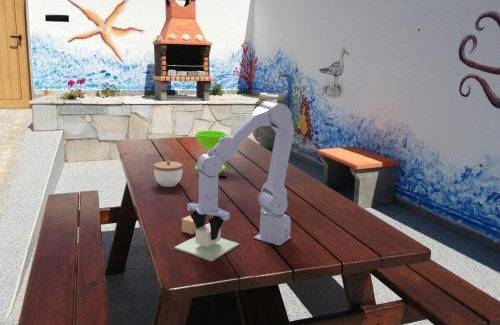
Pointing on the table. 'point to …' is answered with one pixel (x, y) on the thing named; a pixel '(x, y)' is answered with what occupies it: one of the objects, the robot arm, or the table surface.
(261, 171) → the table surface
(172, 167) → the lidded bowl
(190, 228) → the tan brick
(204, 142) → the wineglass
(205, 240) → the cream brick
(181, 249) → the baseplate
